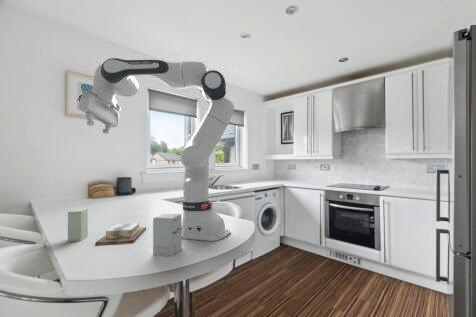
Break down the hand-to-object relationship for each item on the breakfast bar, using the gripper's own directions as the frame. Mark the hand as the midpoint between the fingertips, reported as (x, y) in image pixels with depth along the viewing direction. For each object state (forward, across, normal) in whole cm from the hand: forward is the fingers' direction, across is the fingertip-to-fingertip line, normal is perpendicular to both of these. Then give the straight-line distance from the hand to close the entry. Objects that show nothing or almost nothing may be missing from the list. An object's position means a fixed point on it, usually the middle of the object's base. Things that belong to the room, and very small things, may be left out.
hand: (98, 129), depth 94 cm
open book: (+44, +13, -9) cm, 47 cm away
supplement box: (+48, -2, -35) cm, 59 cm away
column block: (+45, +9, +9) cm, 47 cm away
